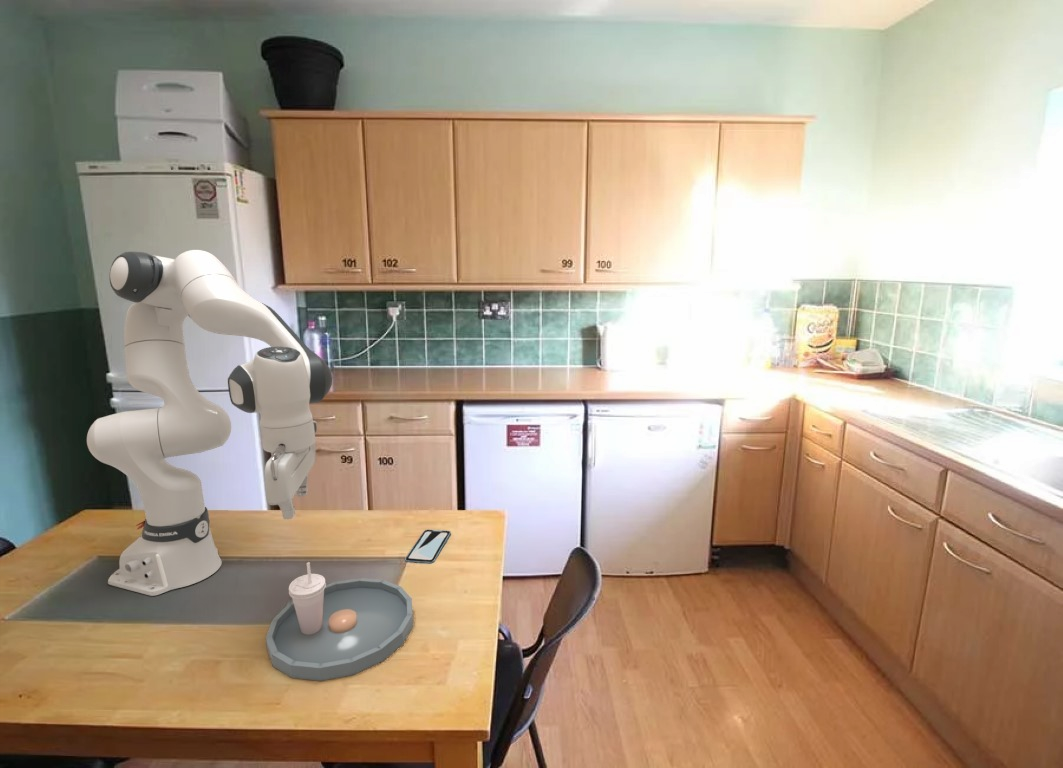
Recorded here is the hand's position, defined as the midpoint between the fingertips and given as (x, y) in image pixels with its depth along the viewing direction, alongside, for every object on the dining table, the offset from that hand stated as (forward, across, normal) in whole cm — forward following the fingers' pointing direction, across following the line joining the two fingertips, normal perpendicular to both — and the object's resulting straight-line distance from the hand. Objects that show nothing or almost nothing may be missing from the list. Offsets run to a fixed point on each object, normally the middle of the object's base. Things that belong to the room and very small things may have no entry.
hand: (296, 505), depth 100 cm
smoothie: (+23, -5, -2) cm, 24 cm away
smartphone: (+25, +23, -23) cm, 41 cm away
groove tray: (+24, -5, -8) cm, 26 cm away
